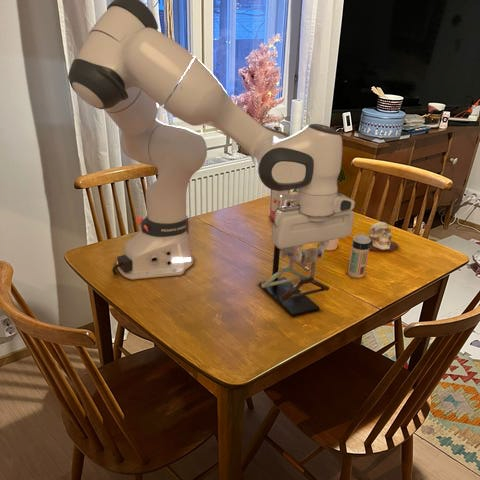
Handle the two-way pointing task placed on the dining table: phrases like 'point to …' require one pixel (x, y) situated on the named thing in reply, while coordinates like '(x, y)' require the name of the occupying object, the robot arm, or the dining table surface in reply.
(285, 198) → the beer glass
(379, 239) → the skull
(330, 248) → the beige short cylinder
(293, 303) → the rail stand
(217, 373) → the dining table surface
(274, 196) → the liquor
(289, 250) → the sage hanger
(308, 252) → the walnut hanger
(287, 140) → the robot arm
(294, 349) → the dining table surface
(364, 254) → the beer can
